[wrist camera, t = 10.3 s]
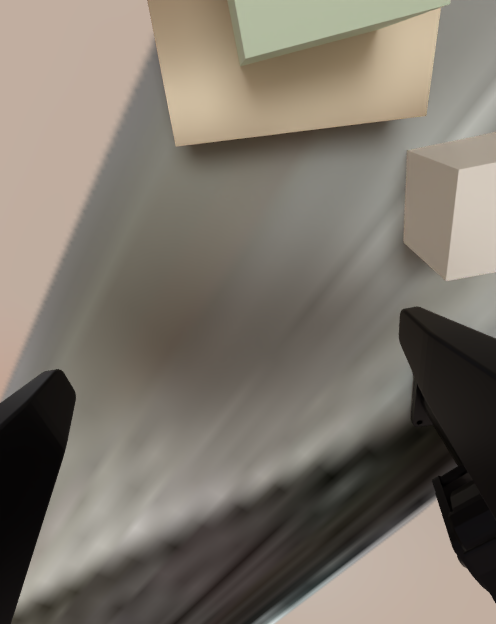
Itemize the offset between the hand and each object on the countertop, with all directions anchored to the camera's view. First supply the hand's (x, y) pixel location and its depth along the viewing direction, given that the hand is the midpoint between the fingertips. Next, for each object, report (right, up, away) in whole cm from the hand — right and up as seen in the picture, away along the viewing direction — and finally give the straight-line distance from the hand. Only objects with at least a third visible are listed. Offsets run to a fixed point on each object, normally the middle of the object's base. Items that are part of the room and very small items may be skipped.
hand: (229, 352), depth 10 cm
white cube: (+11, +8, +10) cm, 17 cm away
